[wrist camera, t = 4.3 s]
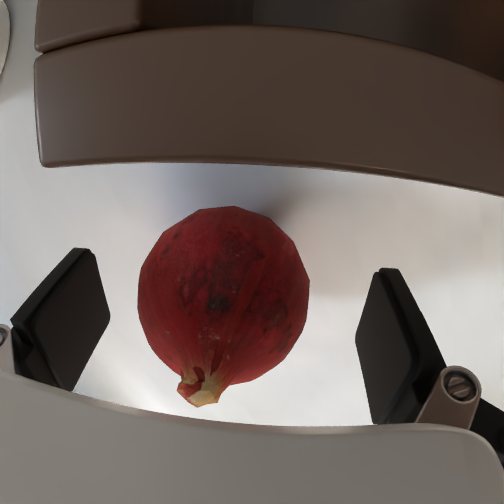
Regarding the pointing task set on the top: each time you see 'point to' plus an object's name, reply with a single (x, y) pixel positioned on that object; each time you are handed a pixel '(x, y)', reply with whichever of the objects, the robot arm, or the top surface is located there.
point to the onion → (222, 299)
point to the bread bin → (276, 85)
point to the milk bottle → (4, 33)
